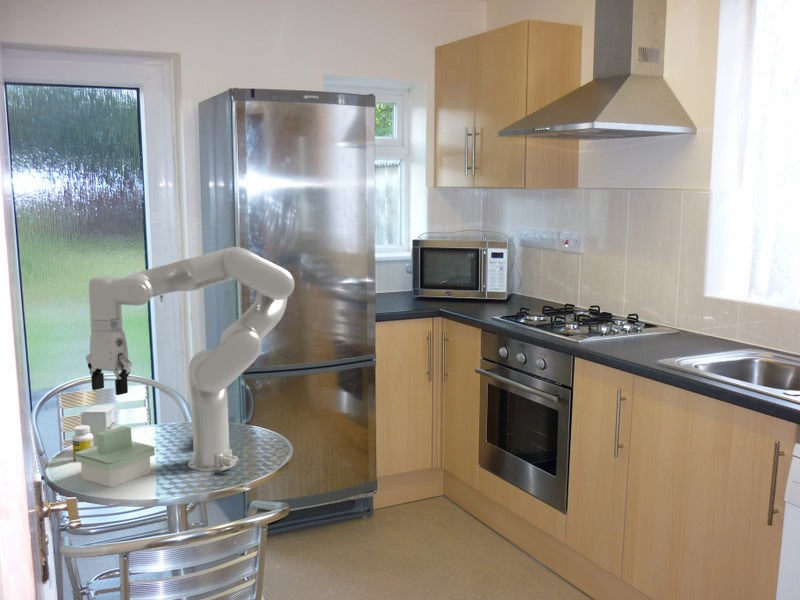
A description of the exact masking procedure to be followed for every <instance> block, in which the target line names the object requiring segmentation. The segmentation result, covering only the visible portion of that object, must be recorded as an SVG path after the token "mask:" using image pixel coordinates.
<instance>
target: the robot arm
mask: <svg viewBox="0 0 800 600" xmlns="http://www.w3.org/2000/svg"><path fill="white" fill-rule="evenodd" d="M230 281H236V282H238V283H239V284H242V285H244V286H246V287H248V288H250V289H251V290H254V291H255V292H257V296H256V299H255V301H254V302H253V303H252V304H251V306H250V307H249V308H248V309H247V310H246V311H245V312H243V314H241V315H240V316H239V317H238V318H237V319H236V320H235V321H234V322H233V323H232V324H231V323H230V325H229V326H228V327H226V329H224V330H223V332H222V333H221V336H220V340H219V341H220V342H219V344H218V346H216V347H215V348H214V349H213V350H211V349H209V350H208V349H204V350H200V351H198V352H197V353H195V354H194V355H193V356H192V358H191V359H190V361H189V365H188V383H189V390H190V406H191V428H192V446H193V447H192V448H193V458H192V459H190V461H188V465H187V466H188V468H189V469H191V470H194V471H199V472H200V471H203V472H212V471H215V473H219V472H223V471H227V470H229V469H232V468H234V466H235V465H236V464H237V462H238V461H239V457H238V456H237V455H233V449H232V448H231V447H230V430H229V428H230V427H229V406H228V405H229V404H228V403H229V402H228V401H229V400H228V389H227V388H228V387H229V386H230V385H231V384H232V383H233V382H234V381H236V380H237V378H239V377H240V376H241V375H242V374H243V373H244V372H245V371H246V370H247V369H248V368H249V367H250V366H251V365H252V364H254V362H255V361H256V359H258V357H259V356H260V353H261V351H262V345H263V344H262V343H263V342H262V340H263V339H264V338H265V337H266V336H268V334H269V333H270V332H271V331H272V330H273V329H275V327H276V325H278V323H280V321H281V319H282V317H283V316H284V313H285V311H286V309H287V304H288V297H290V296H291V295H292V293H293V292H294V289H295V279H294V277H293V275H292V274H291V272H289V271H288V270H287V269H285V268H284V267H282V266H280V265H279V266H278V265H277V264H275V263H273V262H272V261H269V260H267V259H265V258H263V257H261V256H260V255H257V254H256V253H254V252H252V251H251V250H249V249H247V248H243V247H239V246H231V247H227V248H224V249H223V248H222V249H219V250H216V251H211V252H208V253H205V254H201V255H197V256H193V257H190V258H185V259H182V260H178V261H175V262H173V263H172V262H171V263H168V264H164V265H161V266H157V267H152V268H149V269H145V270H140V271H138V272H133V273H131V274H129V275H127V276H126V277H122V278H117V277H115V276H98V277H97V276H96V277H92V278H90V279H89V280H88V298H89V318H90V320H89V322H90V337H89V339H90V341H89V353H88V354H87V355H86V356H85V359H86V363H87V367H88V369H89V375H90V376H91V390H92V391H96V390H101V389H104V388H105V378H104V377H105V376H104V372H103V371H107V372H112V373H113V374H114V376H115V377H116V379H114V384H115V385H114V386H115V387H114V388H115V395H116V396H120V395H125V394H128V393H129V388H128V378H129V376H130V374H131V368H132V365H133V363H132V362H131V361H130V360H129V351H128V343H127V338H126V334H125V331H124V330H123V314H122V311H123V309H122V305H123V306H126V305H127V306H136V307H137V306H143V305H145V304H146V303H148V302H149V301H150V300H151V299H152V298H154V297H157V296H161V295H165V294H169V293H174V292H193V291H197V290H201V289H205V288H208V287H211V286H215V285H219V284H222V283H227V282H230Z"/></svg>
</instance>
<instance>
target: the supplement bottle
mask: <svg viewBox="0 0 800 600" xmlns="http://www.w3.org/2000/svg"><path fill="white" fill-rule="evenodd" d="M89 432H90V426H88V425H82V424H81V425H77V426H74V435H73V436H72V437H71V439H72V455H73V462H77V461H76V460H75V452H78V451H81V450H85V449H88V448H91V447H94V442H93V435H92V434H91V433H89Z"/></svg>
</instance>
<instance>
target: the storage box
mask: <svg viewBox="0 0 800 600" xmlns="http://www.w3.org/2000/svg"><path fill="white" fill-rule="evenodd" d="M80 467H81V468H80V469H81V479H82V480H85V481H89V482H93V483H95V484H98V485H102V486H105V487H109V488H113V487H115V486H119V485H121V484H123V483H124V484H125V483H126V482H129V481H132V480H135V479H138V478H140V477H143V476H144V477H145V475H149V474H151V457H148V458H145V459H142V460H139V461H136V462H133V463H130V464H127V465H124V466H121V467H118V468H115V469H112V470H109V471H108V470H105V469H101V468H98V467H94V466H91V465H87V464H84V463H81V462H80Z"/></svg>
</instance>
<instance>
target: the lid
mask: <svg viewBox="0 0 800 600" xmlns="http://www.w3.org/2000/svg"><path fill="white" fill-rule="evenodd" d="M96 436H97V446H95V447H91V448H88V449H85V450H81V451H78V452H75V460H76V461H75V462H78V463H80V464H81V463H84V464H87V465H91V466H94V467H98V468H101V469H105V470H108V471H109V470H112V469H115V468H118V467H121V466H124V465H127V464H130V463H133V462H136V461H139V460H142V459H145V458H148V457H150V458H151V457H153V456H155V455H156V454H155V446H153V445H149V444H145V443H141V442H137V441H134V440H133V441H132V438H133V437H132V427H129V426H125V425H122V426H119V427H116V428H115V429H111V430H108V431H104V432H101V433H97V434H96Z"/></svg>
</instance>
